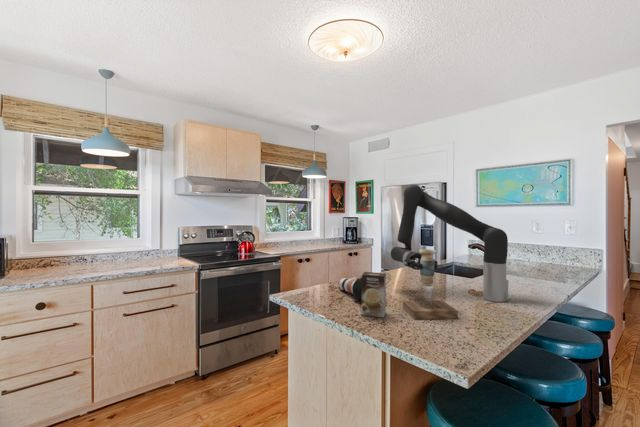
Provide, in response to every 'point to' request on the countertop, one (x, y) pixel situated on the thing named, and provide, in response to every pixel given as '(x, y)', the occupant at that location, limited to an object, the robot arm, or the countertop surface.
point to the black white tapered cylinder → (352, 286)
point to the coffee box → (373, 294)
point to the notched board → (430, 310)
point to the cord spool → (427, 267)
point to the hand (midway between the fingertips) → (429, 266)
